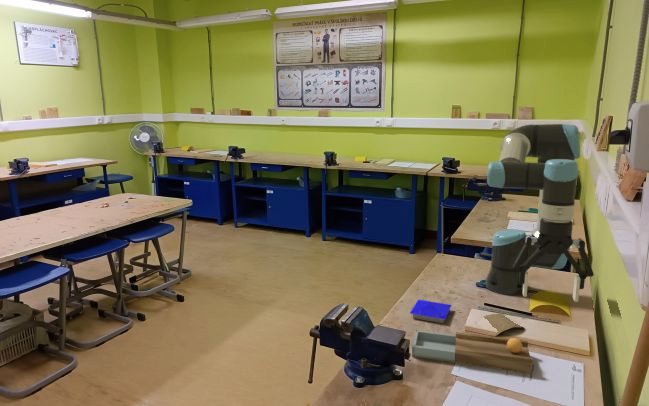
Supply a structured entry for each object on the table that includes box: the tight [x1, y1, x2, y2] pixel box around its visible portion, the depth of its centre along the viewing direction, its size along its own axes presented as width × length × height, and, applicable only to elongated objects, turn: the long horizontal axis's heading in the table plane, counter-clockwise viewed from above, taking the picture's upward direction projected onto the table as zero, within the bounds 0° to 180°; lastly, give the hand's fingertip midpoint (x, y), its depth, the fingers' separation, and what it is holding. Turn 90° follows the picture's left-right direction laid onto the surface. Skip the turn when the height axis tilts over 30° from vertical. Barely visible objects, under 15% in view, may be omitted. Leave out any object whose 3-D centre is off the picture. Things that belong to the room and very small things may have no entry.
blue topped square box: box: [409, 299, 452, 324], centre depth 155 cm, size 12×12×5 cm
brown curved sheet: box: [483, 312, 522, 337], centre depth 146 cm, size 14×10×3 cm
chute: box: [455, 332, 533, 374], centre depth 127 cm, size 10×20×4 cm, turn 72°
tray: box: [411, 329, 456, 364], centre depth 132 cm, size 10×12×3 cm
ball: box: [507, 337, 522, 353], centre depth 125 cm, size 4×4×4 cm
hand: (549, 297), depth 119 cm, fingers open, 12 cm apart
